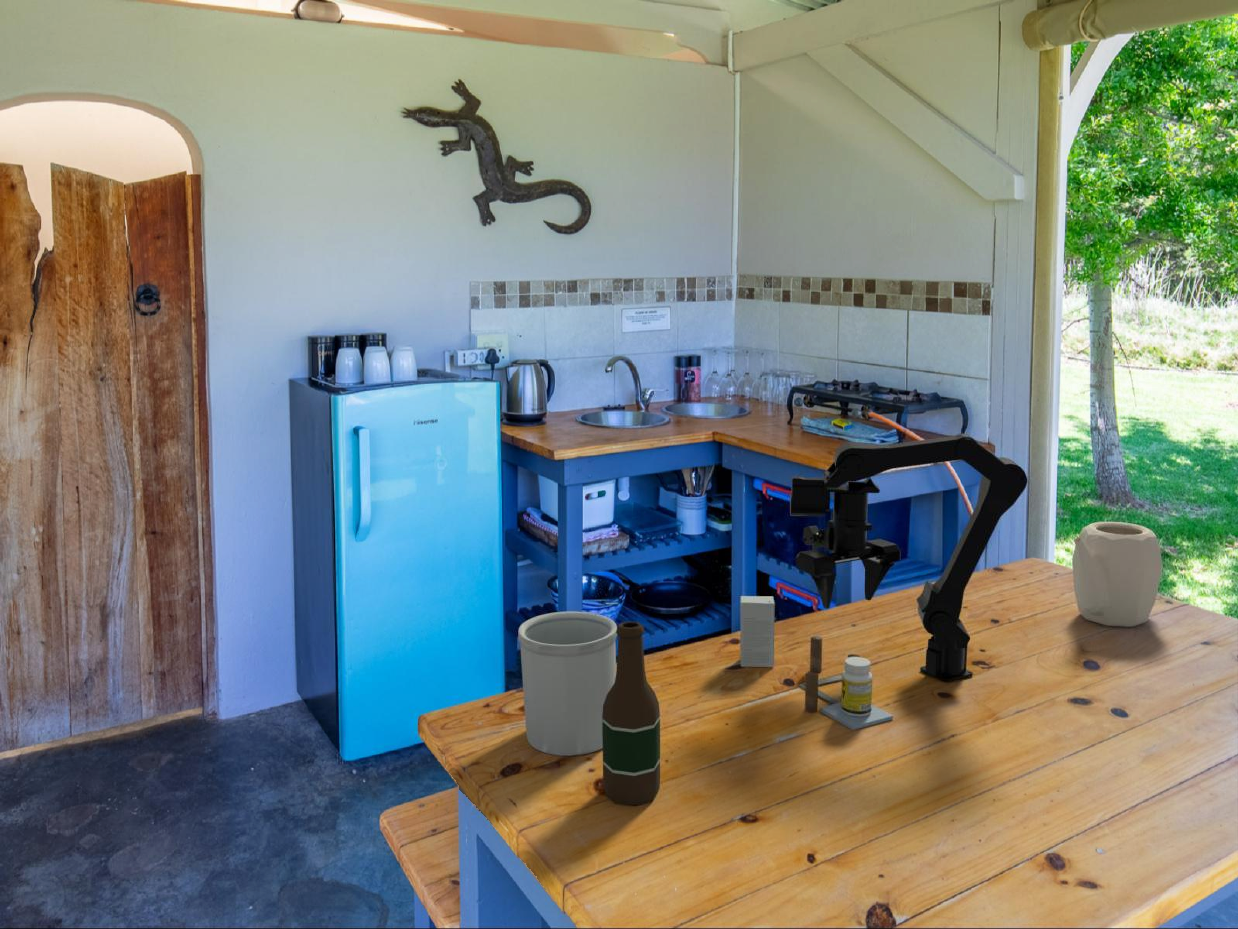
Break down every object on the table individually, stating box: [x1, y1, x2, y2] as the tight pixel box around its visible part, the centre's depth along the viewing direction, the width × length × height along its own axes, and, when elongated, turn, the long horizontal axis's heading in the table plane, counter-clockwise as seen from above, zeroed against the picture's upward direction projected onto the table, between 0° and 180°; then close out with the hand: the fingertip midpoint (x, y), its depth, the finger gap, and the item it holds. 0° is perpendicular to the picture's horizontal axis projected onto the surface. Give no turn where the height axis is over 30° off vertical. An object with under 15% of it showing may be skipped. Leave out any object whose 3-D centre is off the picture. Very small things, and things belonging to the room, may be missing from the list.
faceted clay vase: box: [1071, 521, 1163, 628], centre depth 208 cm, size 16×27×19 cm, turn 124°
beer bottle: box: [602, 621, 661, 807], centre depth 141 cm, size 8×8×24 cm
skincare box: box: [739, 595, 776, 668], centre depth 188 cm, size 6×4×12 cm
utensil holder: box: [517, 610, 618, 757], centre depth 159 cm, size 15×15×18 cm
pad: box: [819, 701, 894, 731], centre depth 167 cm, size 8×8×1 cm
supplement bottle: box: [840, 656, 873, 717], centre depth 166 cm, size 5×5×8 cm
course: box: [799, 635, 861, 714], centre depth 177 cm, size 14×15×6 cm
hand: (847, 604), depth 184 cm, fingers open, 9 cm apart
